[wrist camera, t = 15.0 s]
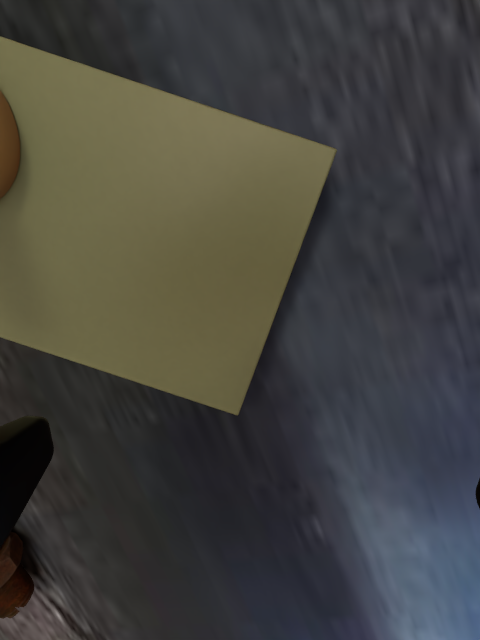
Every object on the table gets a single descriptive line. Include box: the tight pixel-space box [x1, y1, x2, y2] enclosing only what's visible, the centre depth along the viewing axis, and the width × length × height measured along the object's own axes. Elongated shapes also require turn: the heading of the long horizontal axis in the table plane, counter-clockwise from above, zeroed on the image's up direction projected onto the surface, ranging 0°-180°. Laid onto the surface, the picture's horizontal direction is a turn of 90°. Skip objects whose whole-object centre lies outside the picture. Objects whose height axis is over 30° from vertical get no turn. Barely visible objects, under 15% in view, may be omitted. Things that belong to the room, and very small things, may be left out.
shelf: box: [0, 37, 337, 415], centre depth 17 cm, size 20×13×4 cm, turn 72°
